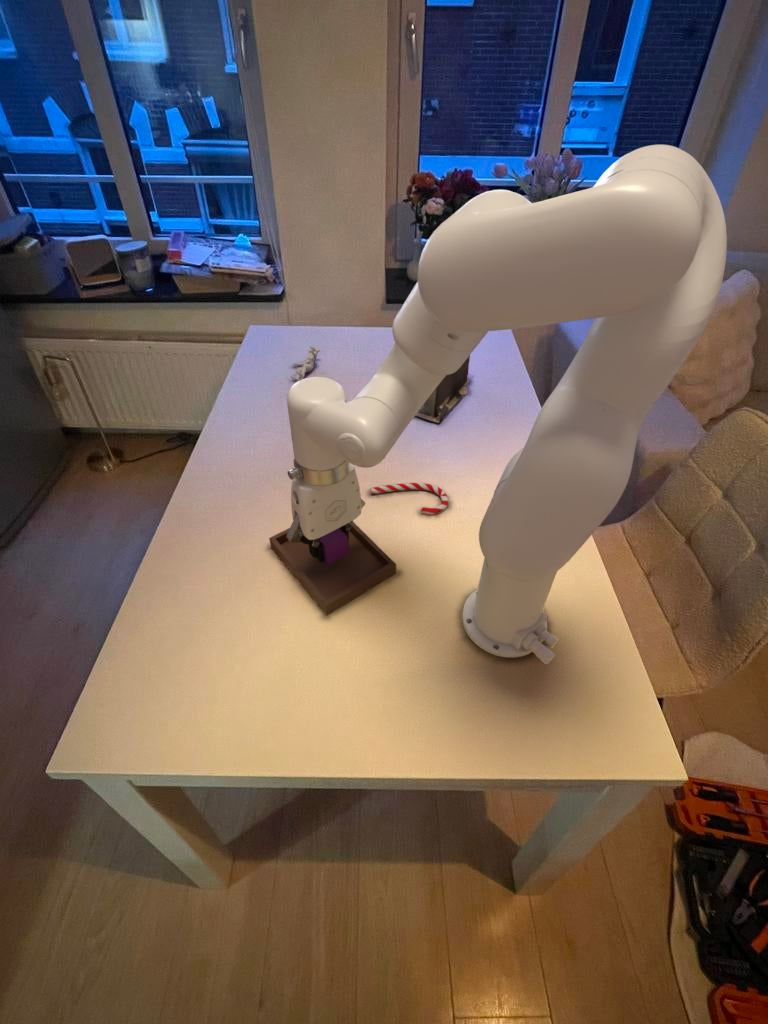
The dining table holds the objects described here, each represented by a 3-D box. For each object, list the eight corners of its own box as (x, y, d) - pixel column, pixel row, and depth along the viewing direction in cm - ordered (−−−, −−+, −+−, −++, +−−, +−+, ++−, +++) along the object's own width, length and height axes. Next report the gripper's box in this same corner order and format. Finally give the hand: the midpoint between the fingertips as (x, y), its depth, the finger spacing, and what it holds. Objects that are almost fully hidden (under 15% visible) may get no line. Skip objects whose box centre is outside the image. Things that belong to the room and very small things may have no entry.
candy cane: (372, 476, 102) (450, 484, 101) (372, 482, 103) (449, 489, 102) (366, 504, 97) (447, 512, 95) (366, 509, 98) (447, 517, 96)
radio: (452, 372, 134) (458, 314, 124) (483, 381, 131) (492, 323, 120) (404, 414, 120) (406, 354, 110) (436, 426, 117) (442, 365, 106)
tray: (396, 573, 86) (396, 564, 85) (326, 615, 81) (325, 606, 79) (336, 514, 96) (335, 504, 95) (271, 547, 91) (268, 537, 89)
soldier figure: (284, 382, 132) (295, 347, 137) (300, 393, 134) (310, 358, 140) (301, 368, 126) (311, 332, 132) (317, 379, 129) (327, 343, 134)
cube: (348, 553, 86) (347, 535, 83) (327, 565, 85) (326, 546, 82) (331, 536, 89) (329, 517, 86) (311, 546, 87) (309, 528, 84)
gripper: (283, 502, 68) (297, 589, 81) (385, 455, 76) (383, 541, 88) (256, 472, 72) (273, 559, 85) (355, 430, 80) (357, 516, 93)
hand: (329, 549), depth 87 cm, fingers closed on cube, 4 cm apart
